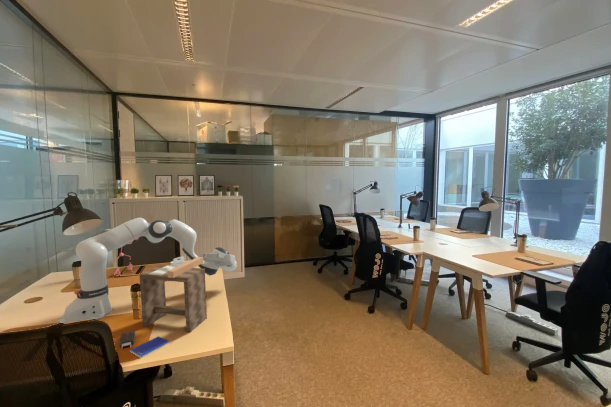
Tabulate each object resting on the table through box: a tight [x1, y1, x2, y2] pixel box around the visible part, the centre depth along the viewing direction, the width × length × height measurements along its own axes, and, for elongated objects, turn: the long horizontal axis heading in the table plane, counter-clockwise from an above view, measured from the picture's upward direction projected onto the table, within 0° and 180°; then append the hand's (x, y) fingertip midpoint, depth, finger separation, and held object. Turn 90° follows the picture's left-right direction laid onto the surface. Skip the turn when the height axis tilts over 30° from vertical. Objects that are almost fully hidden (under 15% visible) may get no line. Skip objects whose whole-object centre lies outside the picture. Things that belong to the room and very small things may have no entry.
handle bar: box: [168, 256, 203, 278], centre depth 146 cm, size 24×3×3 cm, turn 167°
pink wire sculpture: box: [113, 237, 140, 277], centre depth 221 cm, size 15×26×35 cm, turn 152°
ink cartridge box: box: [169, 255, 186, 266], centre depth 212 cm, size 9×5×15 cm, turn 143°
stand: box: [139, 264, 208, 333], centre depth 145 cm, size 14×26×26 cm, turn 77°
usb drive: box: [119, 330, 136, 350], centre depth 129 cm, size 5×12×3 cm, turn 28°
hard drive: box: [129, 336, 170, 359], centre depth 125 cm, size 2×8×12 cm
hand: (210, 254), depth 167 cm, fingers open, 8 cm apart
